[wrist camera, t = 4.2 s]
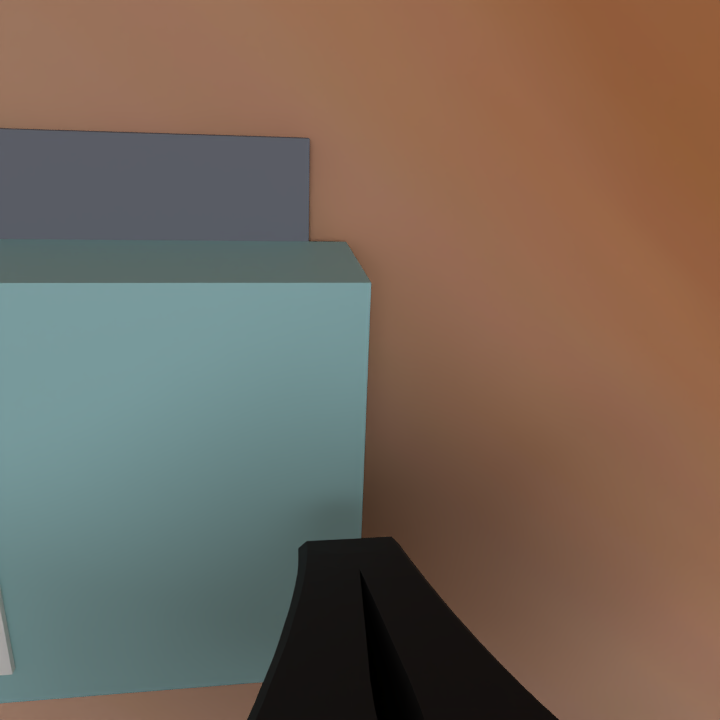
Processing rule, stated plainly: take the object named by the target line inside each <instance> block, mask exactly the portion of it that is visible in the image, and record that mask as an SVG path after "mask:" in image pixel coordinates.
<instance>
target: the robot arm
mask: <svg viewBox="0 0 720 720" xmlns="http://www.w3.org/2000/svg"><path fill="white" fill-rule="evenodd" d="M247 720H559V719H557V718H556V717H555V716H554V715H553V714H552V713H551V712H550V711H549V710H548V709H546V708H545V707H544V706H543V705H542V704H541V703H540V702H539V701H538V700H537V699H536V698H535V697H534V696H533V695H532V694H531V693H529V692H528V691H527V690H526V689H525V688H524V687H523V686H522V685H521V684H520V683H519V682H518V681H517V680H516V679H515V678H514V677H513V676H512V675H511V674H510V673H509V672H508V671H507V670H506V669H505V668H504V667H503V666H502V665H501V664H500V663H499V662H498V661H497V660H496V659H495V658H494V657H493V655H492V654H491V653H490V652H489V651H488V650H487V649H486V648H485V647H484V646H483V645H482V644H481V643H480V642H479V641H478V639H477V638H476V637H475V636H474V635H473V634H472V633H471V632H470V631H469V629H468V628H467V627H466V626H465V625H464V624H463V623H462V622H461V620H460V619H459V618H458V617H457V616H456V615H455V614H454V613H453V612H452V610H451V609H450V608H449V607H448V606H447V604H446V603H445V602H444V601H443V600H442V599H441V597H440V596H439V595H438V594H437V592H436V591H435V590H434V589H433V588H432V586H431V585H430V584H429V583H428V581H427V580H426V579H425V578H424V576H423V575H422V574H421V573H420V571H419V570H418V569H417V567H416V566H415V565H414V564H413V562H412V561H411V560H410V558H409V557H408V556H407V554H406V553H405V552H404V550H403V549H402V548H401V546H400V545H399V544H398V543H397V542H396V541H395V540H394V539H393V538H392V537H376V538H356V539H336V540H317V541H306V542H305V543H304V544H303V545H301V546H300V547H299V548H298V572H297V578H296V583H295V588H294V592H293V596H292V600H291V604H290V608H289V611H288V614H287V617H286V620H285V624H284V627H283V630H282V633H281V636H280V639H279V642H278V645H277V648H276V651H275V654H274V657H273V659H272V662H271V664H270V667H269V669H268V671H267V674H266V676H265V679H264V681H263V684H262V686H261V689H260V691H259V694H258V696H257V699H256V701H255V703H254V706H253V708H252V710H251V713H250V715H249V717H248V719H247Z"/></svg>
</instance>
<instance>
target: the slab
mask: <svg viewBox="0 0 720 720" xmlns="http://www.w3.org/2000/svg"><path fill="white" fill-rule="evenodd" d="M370 299H371V282H370V280H369V278H368V277H367V275H366V274H365V272H364V270H363V269H362V267H361V265H360V264H359V262H358V261H357V259H356V257H355V256H354V254H353V252H352V251H351V249H350V248H349V246H348V244H347V243H346V242H312V241H180V240H48V239H0V703H9V702H22V701H34V700H47V699H59V698H71V697H84V696H96V695H109V694H121V693H134V692H146V691H159V690H171V689H183V688H196V687H208V686H221V685H233V684H246V683H258V682H263V681H264V679H265V676H266V674H267V671H268V669H269V667H270V664H271V662H272V659H273V657H274V654H275V651H276V648H277V645H278V642H279V639H280V636H281V633H282V630H283V627H284V624H285V620H286V617H287V614H288V611H289V608H290V604H291V600H292V596H293V592H294V588H295V583H296V578H297V572H298V548H299V547H300V546H301V545H303V544H304V543H305V542H306V541H317V540H336V539H356V538H361V530H362V505H363V479H364V453H365V428H366V402H367V376H368V350H369V325H370Z"/></svg>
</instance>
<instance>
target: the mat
mask: <svg viewBox="0 0 720 720" xmlns="http://www.w3.org/2000/svg"><path fill="white" fill-rule="evenodd" d="M309 144H310V139H309V138H298V137H265V136H233V135H201V134H169V133H137V132H105V131H73V130H41V129H9V128H0V239H48V240H180V241H309Z"/></svg>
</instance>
